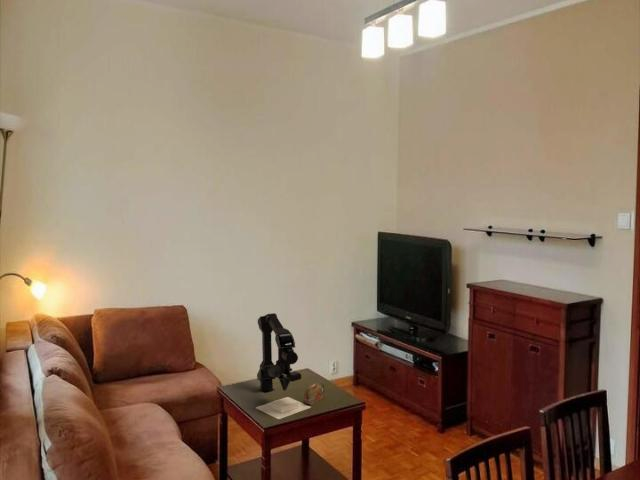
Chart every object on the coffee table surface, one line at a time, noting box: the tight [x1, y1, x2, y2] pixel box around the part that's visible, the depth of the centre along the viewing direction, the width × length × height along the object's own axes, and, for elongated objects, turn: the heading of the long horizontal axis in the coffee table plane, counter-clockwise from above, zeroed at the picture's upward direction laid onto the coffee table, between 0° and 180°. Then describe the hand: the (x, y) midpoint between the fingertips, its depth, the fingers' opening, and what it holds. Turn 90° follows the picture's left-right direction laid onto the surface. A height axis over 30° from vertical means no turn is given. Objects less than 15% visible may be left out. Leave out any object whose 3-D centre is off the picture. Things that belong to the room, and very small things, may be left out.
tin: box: [304, 382, 325, 406], centre depth 263 cm, size 15×3×8 cm, turn 148°
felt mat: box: [255, 396, 312, 420], centre depth 255 cm, size 18×20×1 cm
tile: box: [271, 396, 300, 413], centre depth 254 cm, size 3×10×8 cm
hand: (284, 390), depth 253 cm, fingers closed
